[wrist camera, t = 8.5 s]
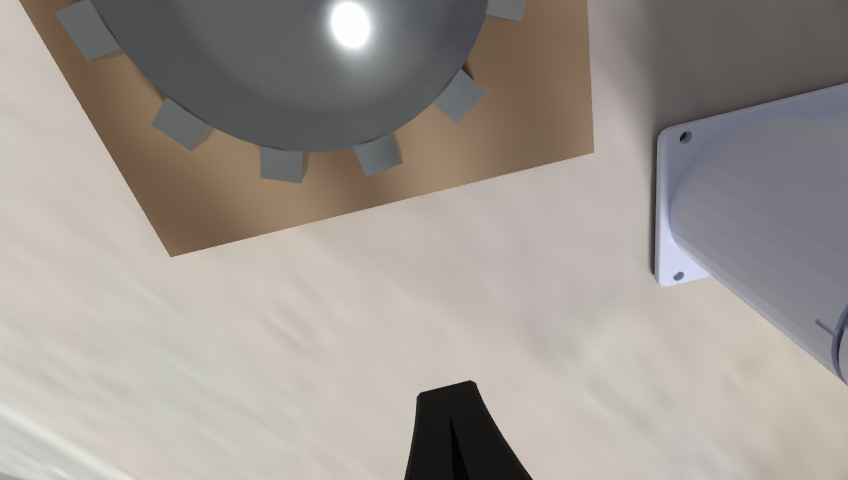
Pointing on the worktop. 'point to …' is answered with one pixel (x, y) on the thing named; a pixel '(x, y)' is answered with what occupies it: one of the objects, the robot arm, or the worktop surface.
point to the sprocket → (294, 68)
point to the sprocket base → (341, 170)
